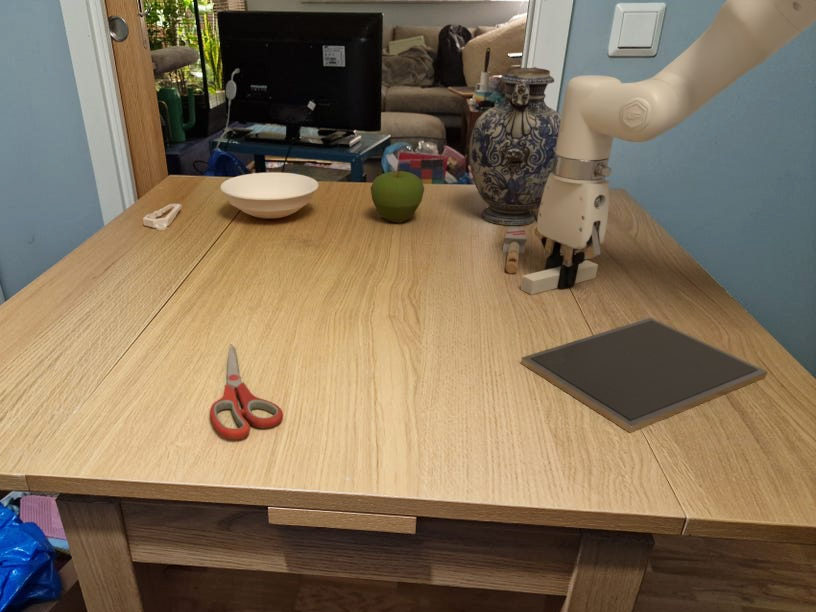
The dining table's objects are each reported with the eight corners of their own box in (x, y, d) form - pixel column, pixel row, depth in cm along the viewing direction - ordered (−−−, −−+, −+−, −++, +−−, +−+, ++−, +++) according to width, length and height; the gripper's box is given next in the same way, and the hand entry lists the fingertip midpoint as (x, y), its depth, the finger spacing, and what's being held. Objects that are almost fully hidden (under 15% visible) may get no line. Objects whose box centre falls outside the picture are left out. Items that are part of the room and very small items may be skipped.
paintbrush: (528, 220, 124) (523, 262, 108) (526, 234, 126) (521, 277, 109) (507, 218, 125) (499, 260, 109) (506, 232, 127) (497, 275, 110)
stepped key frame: (159, 210, 140) (158, 202, 139) (183, 210, 140) (182, 202, 139) (140, 230, 129) (138, 221, 128) (165, 230, 129) (164, 221, 128)
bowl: (209, 227, 130) (206, 195, 127) (238, 199, 147) (236, 170, 144) (308, 233, 127) (308, 200, 124) (326, 203, 144) (326, 174, 141)
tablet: (649, 323, 94) (650, 316, 93) (765, 377, 81) (768, 370, 80) (520, 363, 84) (521, 356, 83) (629, 433, 71) (631, 425, 70)
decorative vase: (551, 240, 124) (578, 79, 110) (453, 228, 130) (467, 74, 116) (559, 208, 141) (584, 65, 128) (472, 199, 147) (487, 62, 133)
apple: (376, 210, 140) (377, 162, 135) (425, 214, 138) (429, 165, 133) (364, 225, 131) (365, 175, 126) (417, 230, 129) (420, 179, 124)
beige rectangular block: (584, 273, 110) (587, 259, 109) (595, 278, 108) (598, 264, 107) (520, 289, 104) (522, 275, 103) (530, 295, 102) (533, 280, 101)
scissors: (235, 345, 88) (234, 335, 87) (291, 429, 71) (290, 418, 71) (177, 356, 85) (176, 346, 85) (222, 447, 69) (220, 436, 68)
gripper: (642, 176, 92) (615, 297, 102) (558, 154, 105) (540, 263, 114) (604, 183, 89) (579, 307, 98) (522, 159, 101) (506, 271, 111)
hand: (558, 282), depth 106 cm, fingers closed on beige rectangular block, 2 cm apart
